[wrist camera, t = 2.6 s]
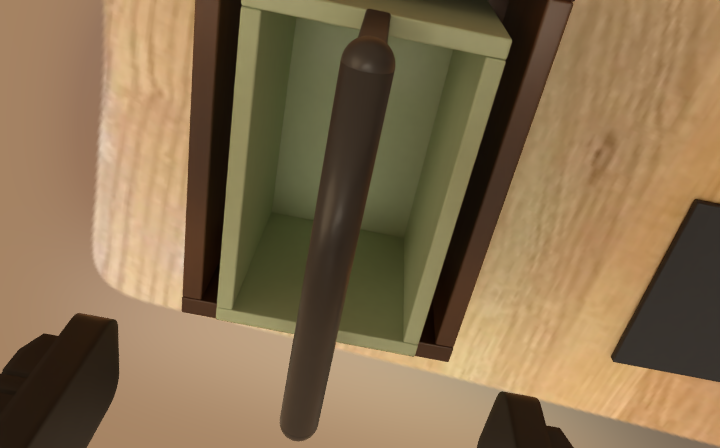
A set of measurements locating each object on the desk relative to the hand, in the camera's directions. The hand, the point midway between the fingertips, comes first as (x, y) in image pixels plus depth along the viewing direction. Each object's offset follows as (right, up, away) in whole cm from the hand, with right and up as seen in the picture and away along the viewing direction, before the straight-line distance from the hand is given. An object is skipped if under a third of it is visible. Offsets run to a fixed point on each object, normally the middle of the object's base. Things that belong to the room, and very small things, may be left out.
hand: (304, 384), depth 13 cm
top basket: (+1, +8, +14) cm, 16 cm away
